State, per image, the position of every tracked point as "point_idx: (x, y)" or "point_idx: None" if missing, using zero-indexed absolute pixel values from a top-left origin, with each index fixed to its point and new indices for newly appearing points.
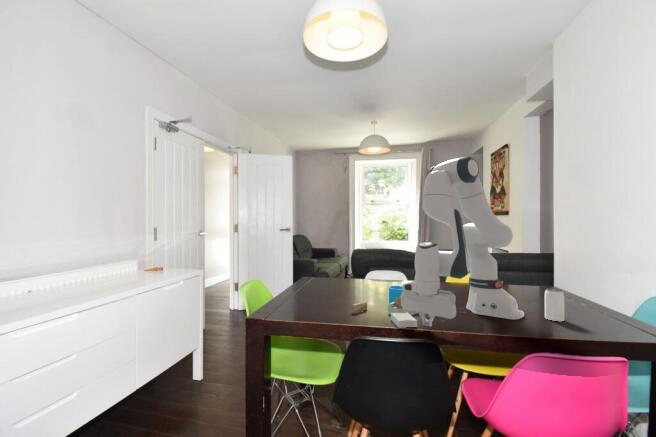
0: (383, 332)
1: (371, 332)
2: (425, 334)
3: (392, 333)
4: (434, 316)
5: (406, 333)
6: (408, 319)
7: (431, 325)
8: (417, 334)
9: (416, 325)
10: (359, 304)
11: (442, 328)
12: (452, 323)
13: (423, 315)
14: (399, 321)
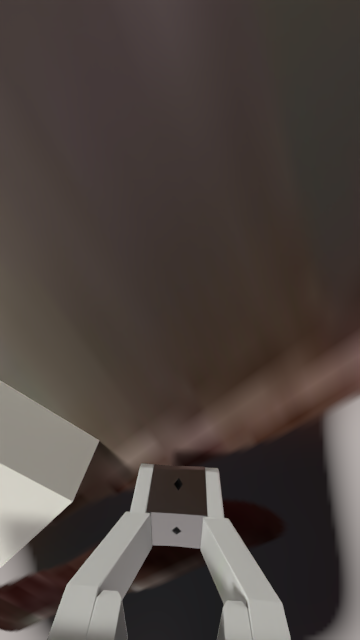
0: (40, 576)
1: (10, 594)
2: None
3: (76, 568)
4: (281, 621)
5: None
6: (6, 517)
7: (217, 472)
8: None
9: (90, 457)
10: None
11: (272, 334)
12: (338, 13)
13: (112, 585)
14: (2, 562)
